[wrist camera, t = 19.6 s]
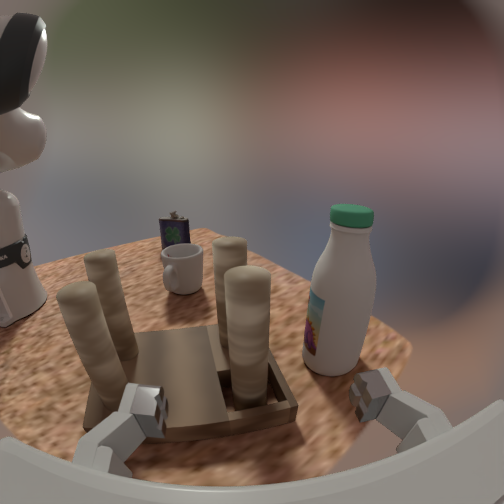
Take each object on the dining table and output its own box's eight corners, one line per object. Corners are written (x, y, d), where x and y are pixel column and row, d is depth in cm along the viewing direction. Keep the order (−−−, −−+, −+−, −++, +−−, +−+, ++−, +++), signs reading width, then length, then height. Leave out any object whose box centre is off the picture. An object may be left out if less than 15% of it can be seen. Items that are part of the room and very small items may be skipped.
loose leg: (251, 420, 24) (249, 290, 19) (226, 404, 27) (214, 276, 21) (272, 401, 27) (280, 273, 21) (248, 387, 29) (245, 262, 23)
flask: (160, 250, 72) (156, 212, 69) (166, 246, 75) (162, 209, 71) (188, 254, 70) (185, 213, 66) (194, 250, 72) (191, 210, 68)
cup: (189, 309, 45) (184, 267, 42) (151, 302, 47) (143, 262, 44) (212, 282, 55) (209, 244, 52) (177, 277, 57) (173, 242, 54)
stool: (94, 442, 19) (20, 319, 13) (110, 350, 34) (79, 246, 28) (295, 420, 24) (315, 291, 19) (254, 335, 39) (254, 228, 33)
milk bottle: (362, 348, 35) (390, 207, 27) (348, 385, 28) (386, 221, 21) (313, 335, 38) (327, 197, 31) (292, 367, 32) (304, 208, 25)
